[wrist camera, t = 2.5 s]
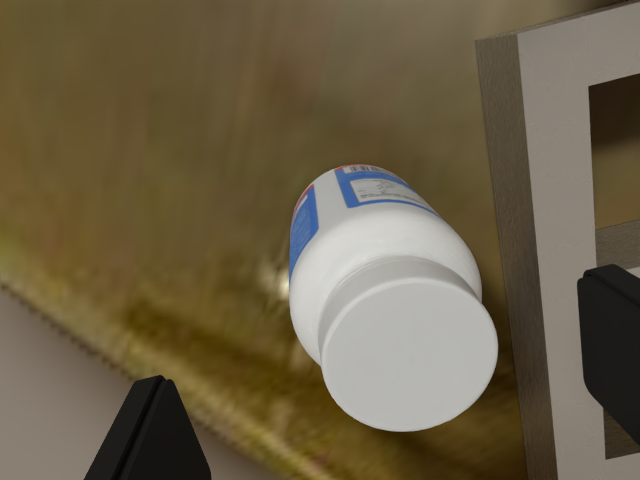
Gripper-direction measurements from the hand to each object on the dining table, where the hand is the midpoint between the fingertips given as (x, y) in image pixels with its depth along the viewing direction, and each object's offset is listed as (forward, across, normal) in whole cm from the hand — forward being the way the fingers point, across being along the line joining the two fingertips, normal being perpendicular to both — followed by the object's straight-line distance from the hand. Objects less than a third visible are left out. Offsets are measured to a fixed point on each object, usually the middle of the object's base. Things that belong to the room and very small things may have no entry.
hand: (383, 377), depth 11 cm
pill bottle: (+10, -1, 0) cm, 10 cm away
